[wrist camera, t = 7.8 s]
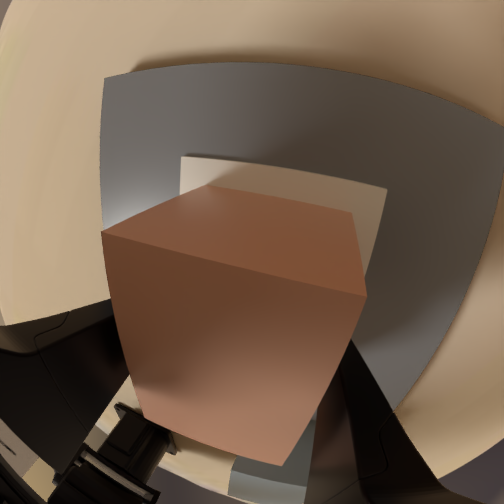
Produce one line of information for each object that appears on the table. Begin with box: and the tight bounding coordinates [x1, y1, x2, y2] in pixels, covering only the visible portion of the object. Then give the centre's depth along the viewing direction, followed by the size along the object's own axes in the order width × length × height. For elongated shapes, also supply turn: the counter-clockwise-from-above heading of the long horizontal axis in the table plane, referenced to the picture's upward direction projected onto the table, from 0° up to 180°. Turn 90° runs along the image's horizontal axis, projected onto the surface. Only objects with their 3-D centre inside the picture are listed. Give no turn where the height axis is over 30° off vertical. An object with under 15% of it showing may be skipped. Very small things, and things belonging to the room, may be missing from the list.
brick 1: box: [101, 185, 367, 466], centre depth 8 cm, size 7×5×5 cm
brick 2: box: [228, 420, 316, 504], centre depth 14 cm, size 7×5×5 cm
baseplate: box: [100, 62, 504, 420], centre depth 11 cm, size 16×16×1 cm
